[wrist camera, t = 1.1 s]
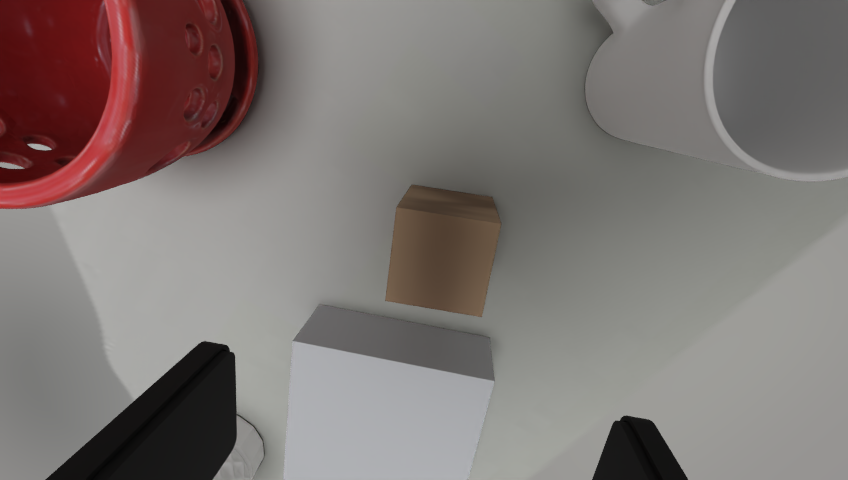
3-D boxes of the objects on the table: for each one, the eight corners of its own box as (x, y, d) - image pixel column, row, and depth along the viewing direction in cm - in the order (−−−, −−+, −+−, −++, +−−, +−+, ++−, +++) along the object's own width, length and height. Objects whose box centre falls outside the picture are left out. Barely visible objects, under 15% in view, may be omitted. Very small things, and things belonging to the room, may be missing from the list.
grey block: (489, 334, 27) (494, 381, 23) (456, 464, 31) (455, 527, 27) (321, 301, 28) (292, 340, 23) (309, 433, 32) (282, 490, 27)
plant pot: (140, 190, 26) (-107, 251, 15) (31, -31, 22) (-407, -174, 11) (320, 135, 24) (192, 159, 13) (232, -119, 20) (-58, -408, 9)
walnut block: (492, 197, 24) (501, 223, 19) (477, 271, 26) (481, 317, 20) (411, 184, 24) (396, 207, 19) (402, 258, 26) (385, 300, 20)
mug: (736, 82, 21) (1059, 50, 10) (628, 170, 23) (792, 230, 12) (620, -74, 19) (843, -333, 8) (514, 34, 21) (573, -51, 10)
